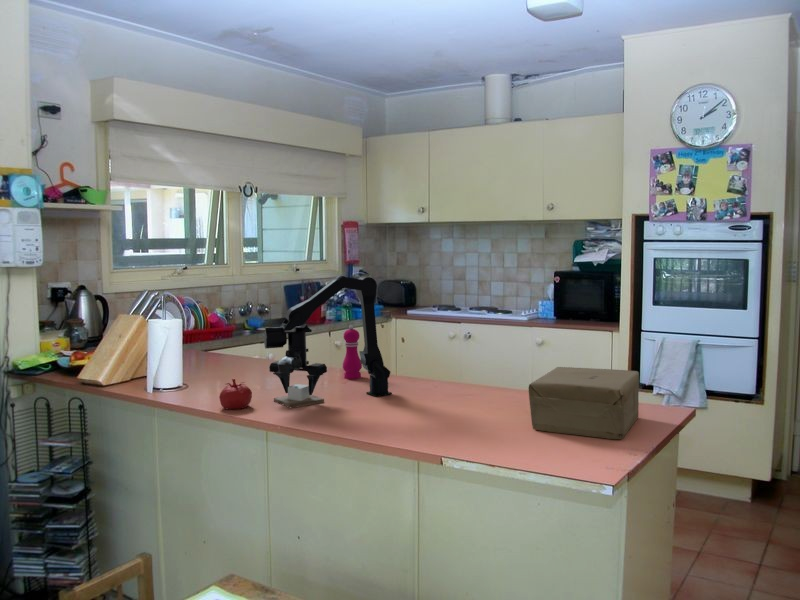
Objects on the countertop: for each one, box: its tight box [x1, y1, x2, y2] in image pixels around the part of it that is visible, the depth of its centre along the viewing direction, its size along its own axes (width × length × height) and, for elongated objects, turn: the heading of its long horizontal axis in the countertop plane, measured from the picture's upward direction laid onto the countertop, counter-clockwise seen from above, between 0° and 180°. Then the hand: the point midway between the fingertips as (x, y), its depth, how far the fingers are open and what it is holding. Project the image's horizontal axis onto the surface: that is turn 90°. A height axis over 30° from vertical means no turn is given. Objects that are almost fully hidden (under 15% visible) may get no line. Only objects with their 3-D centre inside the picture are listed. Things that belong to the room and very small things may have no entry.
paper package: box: [527, 366, 640, 440], centre depth 196 cm, size 27×26×14 cm
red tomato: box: [218, 378, 253, 410], centre depth 224 cm, size 10×10×9 cm
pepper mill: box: [342, 324, 363, 380], centre depth 267 cm, size 7×7×20 cm
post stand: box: [273, 394, 325, 408], centre depth 230 cm, size 12×12×4 cm
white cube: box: [287, 383, 310, 401], centre depth 230 cm, size 5×5×4 cm
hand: (298, 394), depth 230 cm, fingers open, 9 cm apart
